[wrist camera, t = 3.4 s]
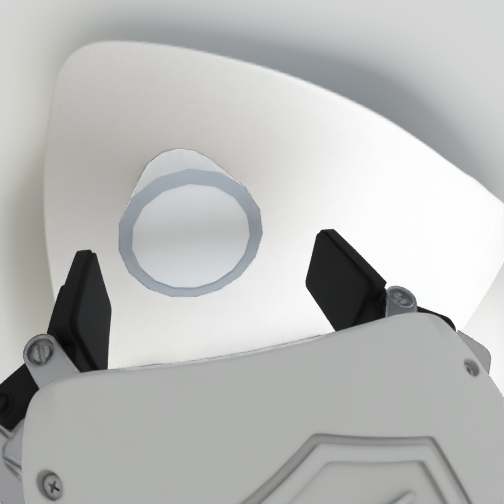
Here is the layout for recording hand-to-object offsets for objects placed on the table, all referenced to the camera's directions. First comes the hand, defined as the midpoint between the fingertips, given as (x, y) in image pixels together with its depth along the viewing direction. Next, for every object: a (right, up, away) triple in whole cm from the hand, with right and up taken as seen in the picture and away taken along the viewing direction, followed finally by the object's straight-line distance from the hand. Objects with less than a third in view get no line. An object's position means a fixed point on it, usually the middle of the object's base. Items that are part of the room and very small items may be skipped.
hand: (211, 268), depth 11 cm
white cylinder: (-3, +5, +7) cm, 9 cm away
